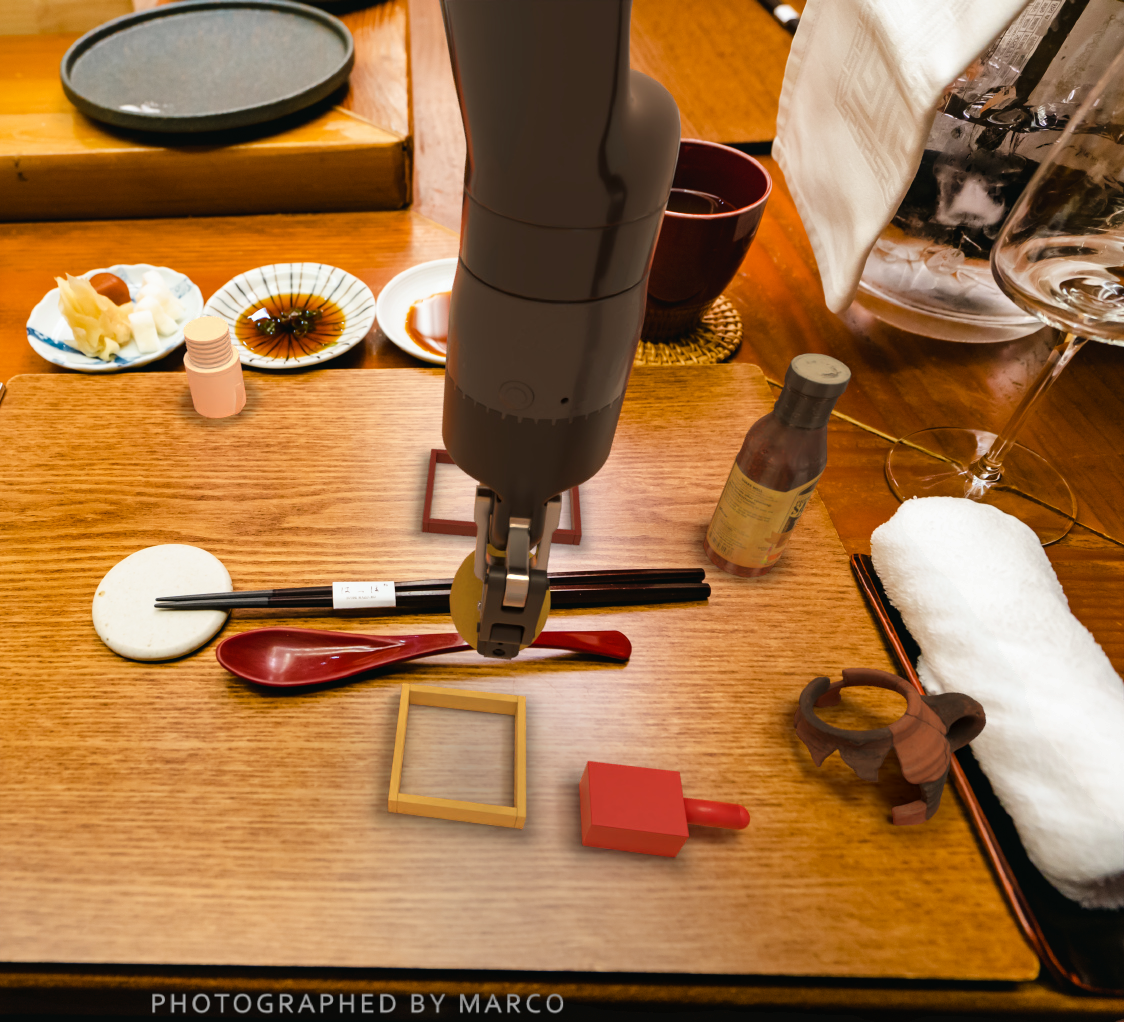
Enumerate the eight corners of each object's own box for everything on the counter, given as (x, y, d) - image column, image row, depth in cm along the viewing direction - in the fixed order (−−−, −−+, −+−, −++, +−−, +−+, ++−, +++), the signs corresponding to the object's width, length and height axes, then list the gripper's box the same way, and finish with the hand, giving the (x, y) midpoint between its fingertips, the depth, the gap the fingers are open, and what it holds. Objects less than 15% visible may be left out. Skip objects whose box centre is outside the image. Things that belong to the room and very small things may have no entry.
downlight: (268, 405, 88) (257, 328, 81) (219, 436, 84) (203, 358, 77) (222, 377, 92) (208, 301, 85) (174, 405, 88) (154, 328, 81)
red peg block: (729, 805, 55) (747, 779, 52) (741, 870, 52) (761, 846, 49) (577, 786, 56) (587, 760, 53) (580, 849, 53) (591, 824, 50)
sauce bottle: (773, 590, 68) (874, 406, 54) (697, 572, 70) (775, 389, 55) (775, 537, 72) (868, 353, 58) (702, 520, 74) (776, 338, 60)
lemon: (465, 593, 50) (475, 503, 44) (551, 623, 48) (573, 534, 42) (432, 660, 46) (437, 573, 41) (523, 696, 45) (542, 609, 39)
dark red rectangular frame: (573, 473, 79) (576, 458, 77) (578, 550, 72) (582, 535, 70) (430, 463, 81) (431, 448, 79) (421, 536, 74) (422, 521, 72)
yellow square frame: (522, 713, 60) (525, 696, 59) (521, 832, 54) (526, 817, 52) (402, 700, 62) (402, 682, 60) (388, 815, 55) (387, 799, 54)
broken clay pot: (866, 860, 53) (846, 768, 50) (777, 770, 61) (756, 687, 59) (1034, 789, 52) (1024, 692, 50) (921, 709, 61) (906, 623, 58)
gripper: (650, 482, 27) (570, 728, 39) (617, 271, 37) (562, 520, 49) (432, 466, 28) (420, 710, 40) (457, 264, 38) (441, 510, 50)
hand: (498, 605), depth 45 cm, fingers closed on lemon, 5 cm apart
